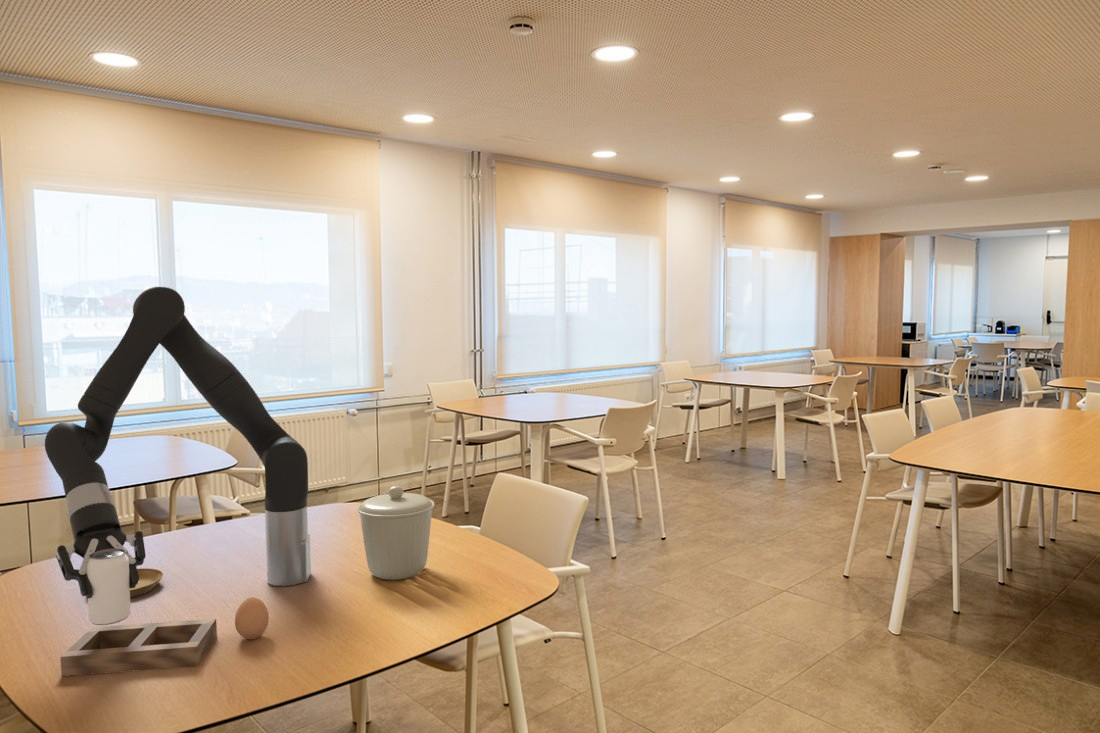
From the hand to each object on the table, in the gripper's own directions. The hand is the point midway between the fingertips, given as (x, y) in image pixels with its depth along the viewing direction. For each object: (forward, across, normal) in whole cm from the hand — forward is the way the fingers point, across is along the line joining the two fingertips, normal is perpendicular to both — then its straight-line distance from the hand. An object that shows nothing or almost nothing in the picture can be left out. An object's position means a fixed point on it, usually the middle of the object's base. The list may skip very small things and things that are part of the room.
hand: (112, 590), depth 131 cm
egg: (+15, +21, +3) cm, 26 cm away
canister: (+8, +60, +10) cm, 62 cm away
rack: (+10, +4, +8) cm, 14 cm away
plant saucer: (-16, +11, +35) cm, 40 cm away
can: (+3, 0, +5) cm, 6 cm away
